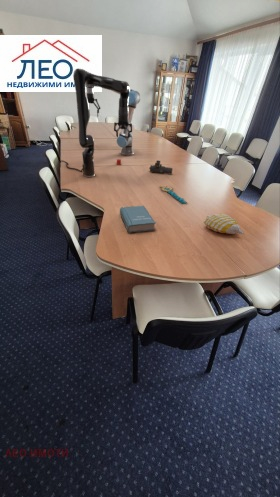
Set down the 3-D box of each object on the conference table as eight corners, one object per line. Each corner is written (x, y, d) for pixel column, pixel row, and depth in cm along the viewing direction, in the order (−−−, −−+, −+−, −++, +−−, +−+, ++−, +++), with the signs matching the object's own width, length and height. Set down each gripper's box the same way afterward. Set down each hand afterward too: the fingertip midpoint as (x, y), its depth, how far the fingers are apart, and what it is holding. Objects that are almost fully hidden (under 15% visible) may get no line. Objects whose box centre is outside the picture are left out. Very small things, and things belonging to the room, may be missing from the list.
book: (154, 230, 131) (155, 222, 128) (128, 232, 126) (128, 225, 124) (143, 212, 148) (143, 205, 145) (119, 214, 144) (120, 207, 141)
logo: (159, 187, 187) (159, 186, 186) (169, 186, 189) (169, 185, 189) (175, 204, 161) (175, 203, 161) (187, 203, 164) (187, 202, 163)
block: (116, 164, 232) (116, 160, 229) (116, 163, 235) (116, 159, 232) (120, 165, 232) (120, 160, 229) (120, 163, 235) (120, 159, 233)
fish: (254, 225, 128) (232, 232, 118) (249, 236, 132) (228, 244, 123) (221, 208, 144) (199, 213, 134) (217, 218, 149) (196, 224, 139)
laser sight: (171, 175, 213) (172, 165, 207) (148, 172, 216) (149, 162, 210) (172, 172, 221) (173, 162, 215) (150, 169, 224) (150, 159, 218)
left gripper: (113, 114, 164) (113, 138, 173) (132, 115, 165) (131, 139, 174) (114, 112, 170) (114, 136, 179) (132, 114, 171) (131, 137, 180)
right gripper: (77, 92, 230) (79, 115, 243) (101, 93, 232) (102, 117, 245) (78, 92, 236) (80, 115, 249) (102, 93, 238) (103, 116, 251)
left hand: (122, 137), depth 177 cm, fingers open, 8 cm apart
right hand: (91, 116), depth 247 cm, fingers open, 13 cm apart
